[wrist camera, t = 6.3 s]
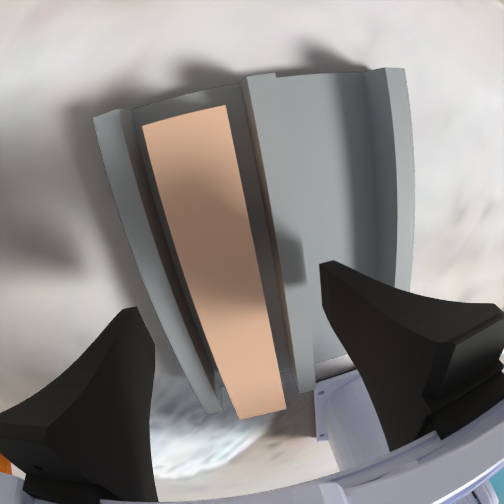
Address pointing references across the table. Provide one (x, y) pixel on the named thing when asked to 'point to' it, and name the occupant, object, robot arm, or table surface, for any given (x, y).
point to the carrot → (5, 465)
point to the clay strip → (217, 252)
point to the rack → (281, 204)
